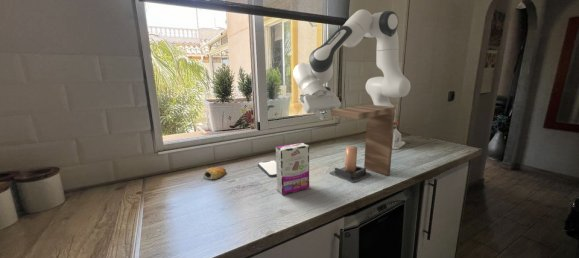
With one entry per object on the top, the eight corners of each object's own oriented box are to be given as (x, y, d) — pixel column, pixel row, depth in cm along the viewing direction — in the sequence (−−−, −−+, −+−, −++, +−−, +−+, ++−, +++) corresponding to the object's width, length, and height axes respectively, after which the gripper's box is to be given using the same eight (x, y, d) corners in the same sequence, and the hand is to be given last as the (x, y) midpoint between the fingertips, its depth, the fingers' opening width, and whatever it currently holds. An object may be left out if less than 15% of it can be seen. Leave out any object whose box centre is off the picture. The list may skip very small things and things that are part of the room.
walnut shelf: (364, 167, 115) (368, 104, 109) (389, 174, 106) (395, 107, 100) (328, 181, 100) (330, 109, 94) (354, 192, 91) (358, 113, 85)
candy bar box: (302, 183, 98) (302, 142, 94) (309, 188, 93) (310, 145, 90) (275, 190, 93) (275, 146, 89) (282, 195, 88) (281, 149, 85)
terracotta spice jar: (349, 170, 109) (350, 145, 107) (357, 173, 106) (359, 147, 104) (342, 172, 107) (343, 147, 104) (351, 176, 103) (352, 149, 101)
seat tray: (347, 167, 115) (347, 161, 114) (370, 175, 106) (371, 169, 105) (329, 173, 107) (329, 168, 107) (353, 183, 98) (353, 176, 98)
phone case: (289, 175, 108) (274, 163, 121) (289, 171, 107) (274, 159, 121) (269, 179, 104) (256, 166, 118) (269, 175, 103) (256, 162, 117)
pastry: (218, 170, 112) (218, 162, 111) (230, 173, 109) (229, 165, 108) (201, 178, 104) (201, 169, 103) (213, 181, 101) (213, 172, 100)
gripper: (301, 89, 106) (317, 115, 101) (333, 87, 119) (349, 110, 114) (294, 99, 111) (309, 125, 106) (326, 96, 124) (341, 119, 118)
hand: (330, 117), depth 110 cm, fingers open, 8 cm apart
